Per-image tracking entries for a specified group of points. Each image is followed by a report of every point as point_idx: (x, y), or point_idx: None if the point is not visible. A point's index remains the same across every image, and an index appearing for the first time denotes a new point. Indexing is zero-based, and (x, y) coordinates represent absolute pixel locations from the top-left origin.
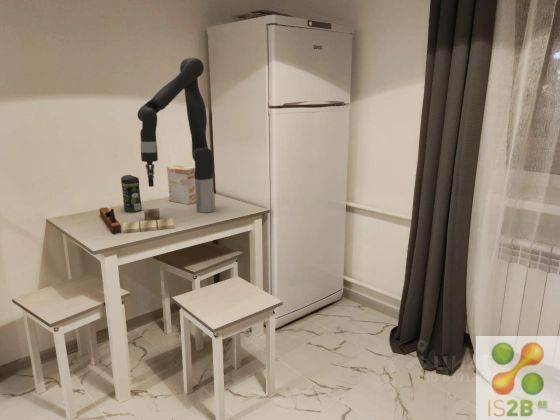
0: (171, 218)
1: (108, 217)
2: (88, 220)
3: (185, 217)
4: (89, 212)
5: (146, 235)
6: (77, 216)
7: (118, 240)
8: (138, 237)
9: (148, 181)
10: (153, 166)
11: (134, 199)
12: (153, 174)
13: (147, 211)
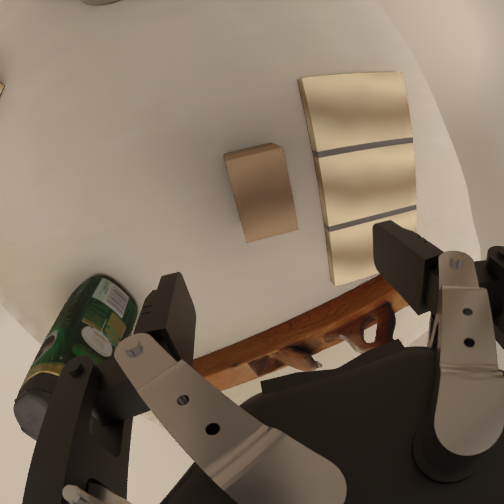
0: (303, 81)
1: (317, 348)
2: (240, 393)
3: (230, 25)
4: None
5: (446, 174)
6: None
7: (456, 249)
8: (454, 197)
9: (195, 324)
10: (496, 415)
11: (110, 329)
12: (446, 289)
13: (291, 213)
